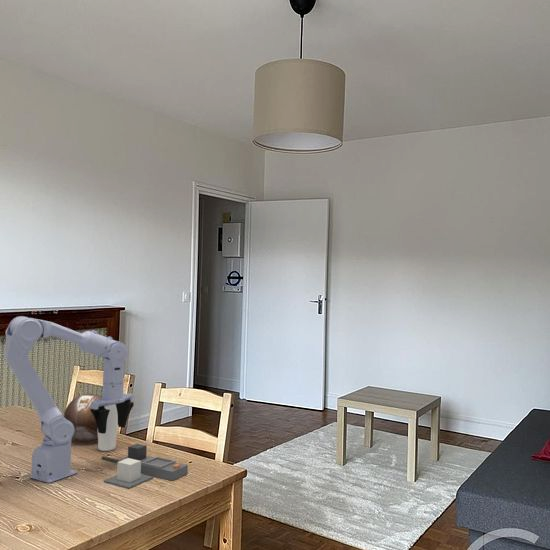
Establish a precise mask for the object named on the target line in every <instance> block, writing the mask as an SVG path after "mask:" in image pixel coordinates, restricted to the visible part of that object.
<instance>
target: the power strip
mask: <svg viewBox="0 0 550 550" xmlns="http://www.w3.org/2000/svg"><path fill="white" fill-rule="evenodd" d="M127 458H130V459H135V460H139V461H141V474H144V475H148V476H152V477H153V478H154V477H155V478H158V479H163V480H168V481H172V482H173V481H175V480H177V479H180V478H182V477H184V476H185V475H188V471H189V468H188V467H189V466H188V464H184V463H181V462H176V460H175V459H174V460H173V459H171V458H170V459H169V458H165V457H160V456H156V457H154V456H149V455H147V445H145V444H141V443H135V444H131V445H130V446H128V447H127V456H125V457H122V458H120V459H118V458H114V457H109V456H104V455H102V456H101V459H102V460H105V461H108V462H113V463H116V464H117V463H118V462H119V461H122V460H124V459H127Z"/></svg>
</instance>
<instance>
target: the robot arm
mask: <svg viewBox="0 0 550 550" xmlns="http://www.w3.org/2000/svg"><path fill="white" fill-rule="evenodd" d="M49 337H54V338H58V339H60V340H64V341H67V342H70V343H73V344H76V345H77V347H78V349H79V350H80V351H82V352H85V353H87V354H88V353H89V354H91V355H94V356H97V357H98V358H103V370H102V371H103V372H102V398H100V399H98V400H96V401H92V402H91V412H92V414H93V416H94V418H95V421H96V424H97V428H98V432H99V433H102V434H104V433H106V425H107V418H108V414H109V412H110V410H108V409H106V408H105V406H110V405H114V404H116V408H117V414H118V427H119V428H122V429H124V428H126V425H127V421H128V418H129V415H130V413H131V412H132V411H131V410H132V409H133V407H134V405H135V404H134V402H133V401H134V394H133V393H129V392H128V393H124V384H125V382H124V381H125V380H124V378H125V377H124V376H125V360H126V358H127V357H128V354H129V350H128V349H127V346H126V345H125V343H124V342H122V341H118V340H115V339H113V337H112V336H110V335H109V336H104V335H102V334H99V333H98V331H96V330H93V329H92V330H86V331H83V332H78V331H76V330H73V329H71V328H69V327H65V326H62V325H60V324H58V323H55V322H52V321H48V320H44V319H38V318H33V317H28V316H24V315H20V316H16V317H14V318H13V319H12V320H11V321H10V322H9V324H8V326H7V328H6V330H5V348H4V359H5V361H6V363H7V364H8V366H9V368H10V369H11V372H12V373H13V374H14V376H15V379H16V380H17V382H19V385H20V386H21V388H22V390H23V391H24V393H25V394H26V397H27V398H28V400H29V402H30V403H31V404H32V406H33V409H34V410H35V412H36V413H37V416H38V420H39V421H40V429H41V432H42V433H43V435H44V437H43V439H42V443H41V444H40V446H39V445H38V446H37V447H36V448H34V449H33V452H32V455H31V474H30V475H29V478H30V479H32V480H33V479H34V480H37V481H41V482H45V483H48V484H50V483H54V482H56V481H58V480H63V479H65V478H68V477H70V476H72V475H75V474H78V470H75V469H71V465H72V464H71V463H72V462H71V461H72V438H74V437H73V435H74V431H75V429H74V425H73V424H72V423H71V422H70V421H68V420H67V419H65V417H64V414H63V413H62V411H60V409H59V408H58V407H57V404H56V403H55V402H54V399H53V398H52V397H51V395H50V393H49V392H48V390H47V388H46V386H45V385H44V383H43V381H42V379H41V377H40V376H39V374H38V373H37V370H36V369H35V367H34V365H33V364H32V362H31V360H30V358H29V354H30V352H31V350H32V348H33V346H34V345H35V344H36V342H38V340H39V339H40V338H41V339H46V338H49ZM118 427H117V428H118Z"/></svg>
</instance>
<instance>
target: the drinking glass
mask: <svg viewBox="0 0 550 550" xmlns="http://www.w3.org/2000/svg"><path fill="white" fill-rule="evenodd" d="M105 408H106V409H108V410H110V412H109V414H108V418H107V425H106V433H104V434H102V433H99V432H98V428H97V432H98V438H97V449H98V450H99V451H101V452H110V451H113V450H115V449H116V447H117V433H118V414H117V408H116V404H114V405H110V406H105Z"/></svg>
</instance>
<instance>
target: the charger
mask: <svg viewBox="0 0 550 550" xmlns="http://www.w3.org/2000/svg"><path fill="white" fill-rule="evenodd" d="M116 465H117V467H116V468H117V470H116V475H117V479H118V480H122V481H126V482H132V481H135V480H137V479H139V478H141V474H142V473H141V461H139V460H135V459H130V458H127V459H124V460H122V461H119V462H118V463H116Z"/></svg>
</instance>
